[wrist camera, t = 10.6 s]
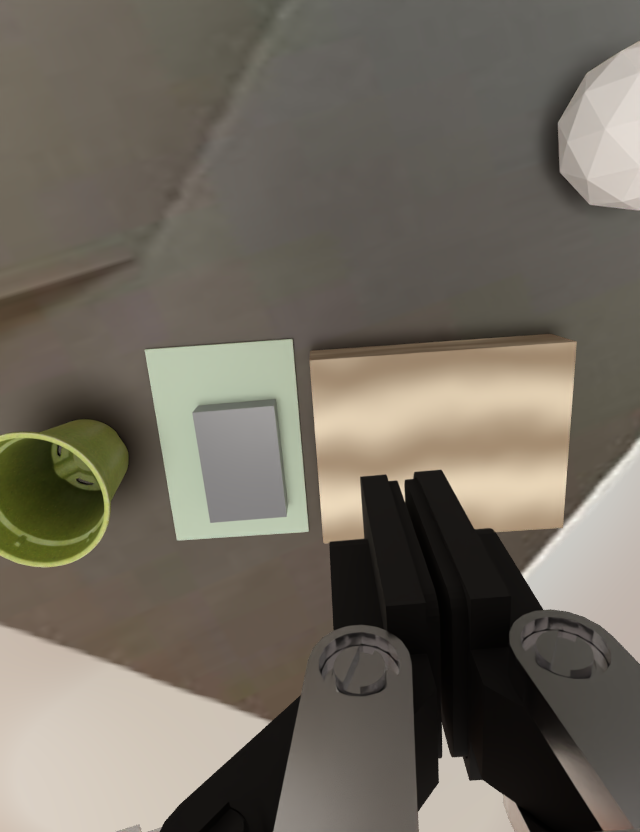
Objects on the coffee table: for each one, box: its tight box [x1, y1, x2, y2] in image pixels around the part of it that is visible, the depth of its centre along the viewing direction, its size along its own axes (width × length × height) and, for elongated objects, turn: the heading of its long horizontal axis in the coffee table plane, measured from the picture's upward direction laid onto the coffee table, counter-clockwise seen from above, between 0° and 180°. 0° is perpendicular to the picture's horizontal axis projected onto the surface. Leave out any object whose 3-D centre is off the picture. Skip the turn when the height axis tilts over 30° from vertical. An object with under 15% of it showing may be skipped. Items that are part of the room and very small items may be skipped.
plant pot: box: [0, 419, 128, 567], centre depth 37 cm, size 9×9×9 cm
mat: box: [145, 339, 309, 540], centre depth 40 cm, size 16×11×1 cm
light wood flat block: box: [310, 334, 577, 543], centre depth 38 cm, size 14×18×4 cm
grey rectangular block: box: [192, 399, 288, 523], centre depth 40 cm, size 9×6×2 cm, turn 5°
